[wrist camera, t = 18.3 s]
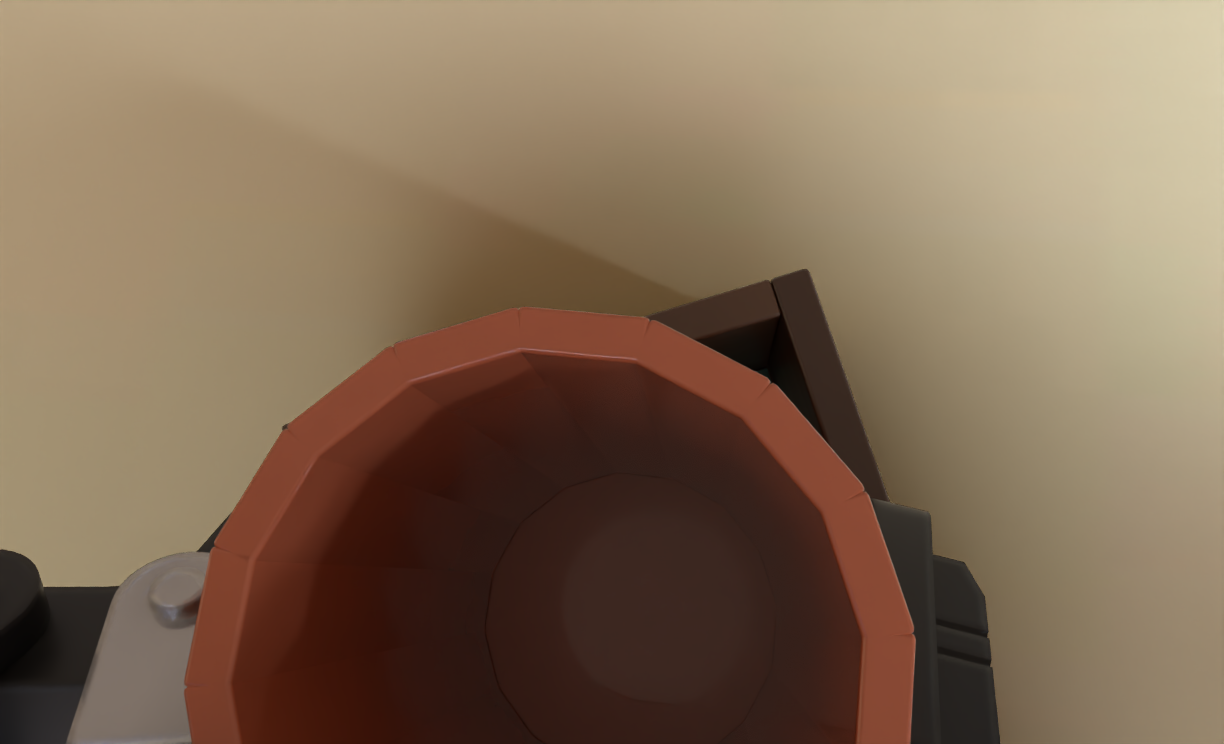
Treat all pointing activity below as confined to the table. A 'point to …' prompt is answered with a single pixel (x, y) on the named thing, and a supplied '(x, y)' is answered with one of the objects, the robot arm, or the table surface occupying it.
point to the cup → (552, 556)
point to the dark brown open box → (786, 357)
